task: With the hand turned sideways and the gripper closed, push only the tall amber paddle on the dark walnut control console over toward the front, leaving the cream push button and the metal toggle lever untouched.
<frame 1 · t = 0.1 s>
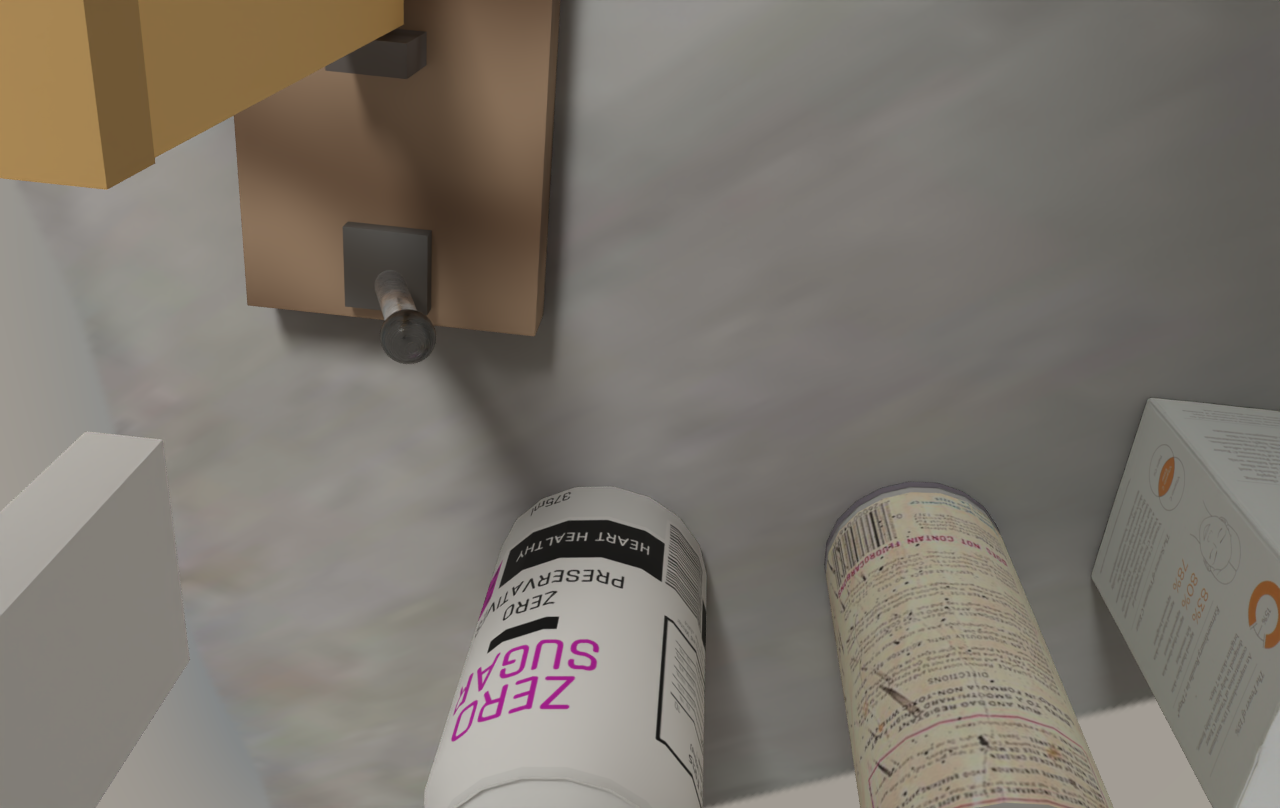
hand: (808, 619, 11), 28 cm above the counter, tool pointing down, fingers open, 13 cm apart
small box: (1198, 494, 42), on the counter
toggle lever: (403, 323, 33), point 7 cm above the counter, hinge at -22.0°
supplement can: (604, 562, 45), on the counter
aerosol can: (911, 554, 44), on the counter
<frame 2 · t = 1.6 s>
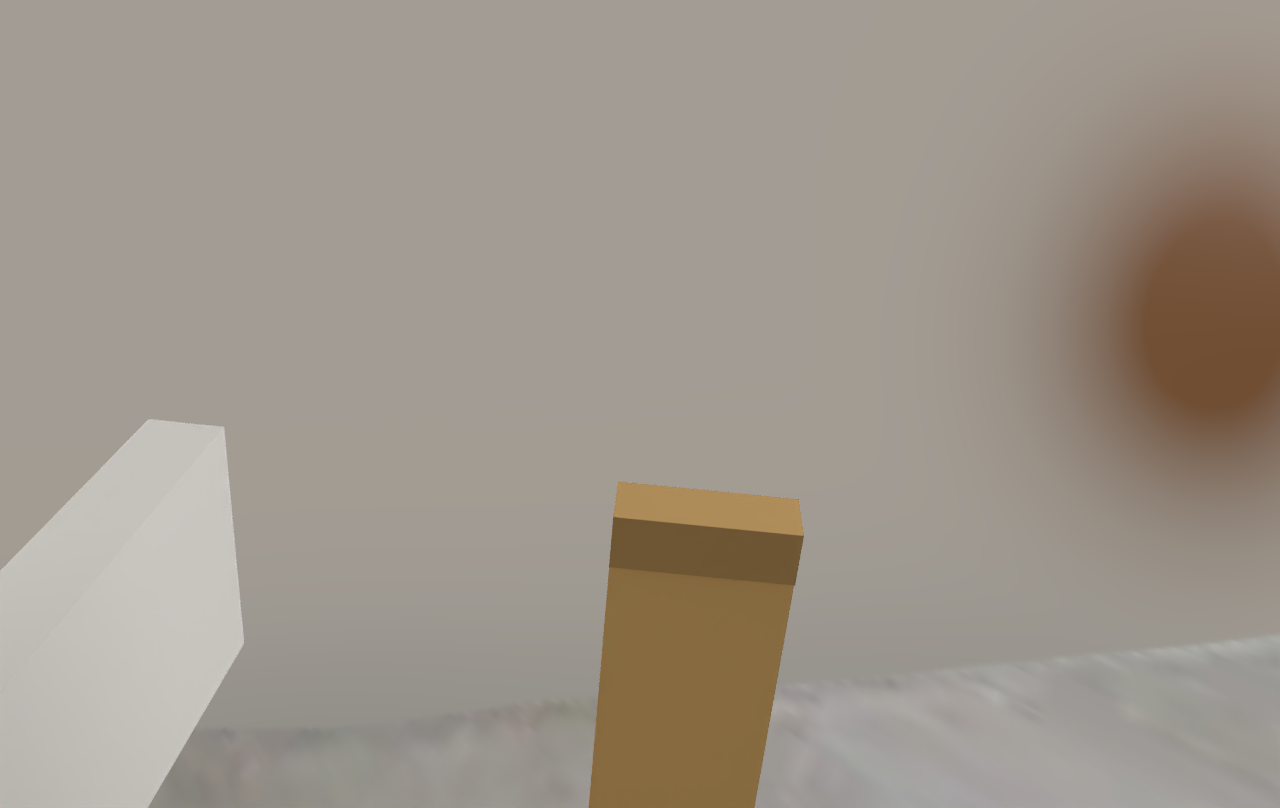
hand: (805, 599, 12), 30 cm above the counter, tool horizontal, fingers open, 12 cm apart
paddle: (675, 759, 34), point 12 cm above the counter, hinge at 0.0°
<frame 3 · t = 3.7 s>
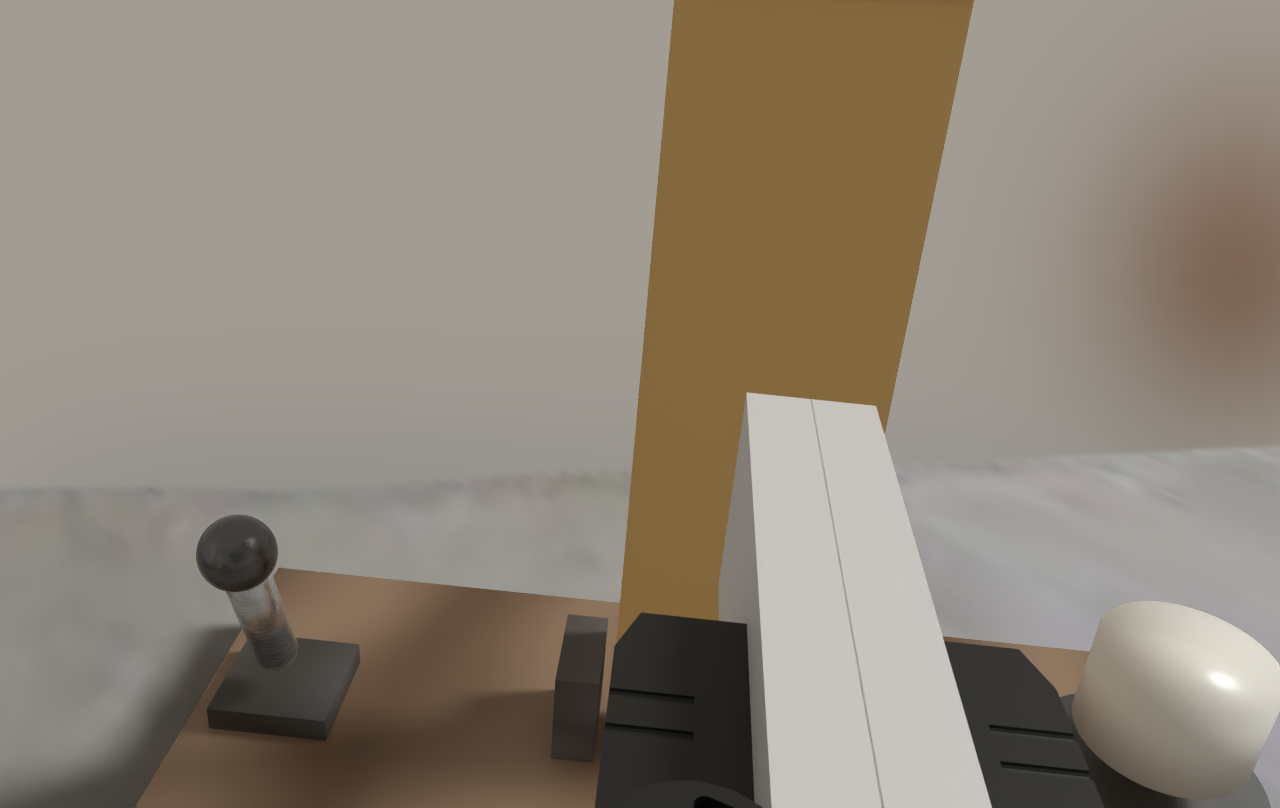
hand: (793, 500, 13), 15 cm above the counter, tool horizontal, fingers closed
console: (702, 797, 28), on the counter
push button: (1174, 695, 26), point 5 cm above the counter, slide at 0.0 cm
toggle lever: (247, 579, 24), point 7 cm above the counter, hinge at -22.0°
paddle: (765, 367, 23), point 12 cm above the counter, hinge at 0.0°
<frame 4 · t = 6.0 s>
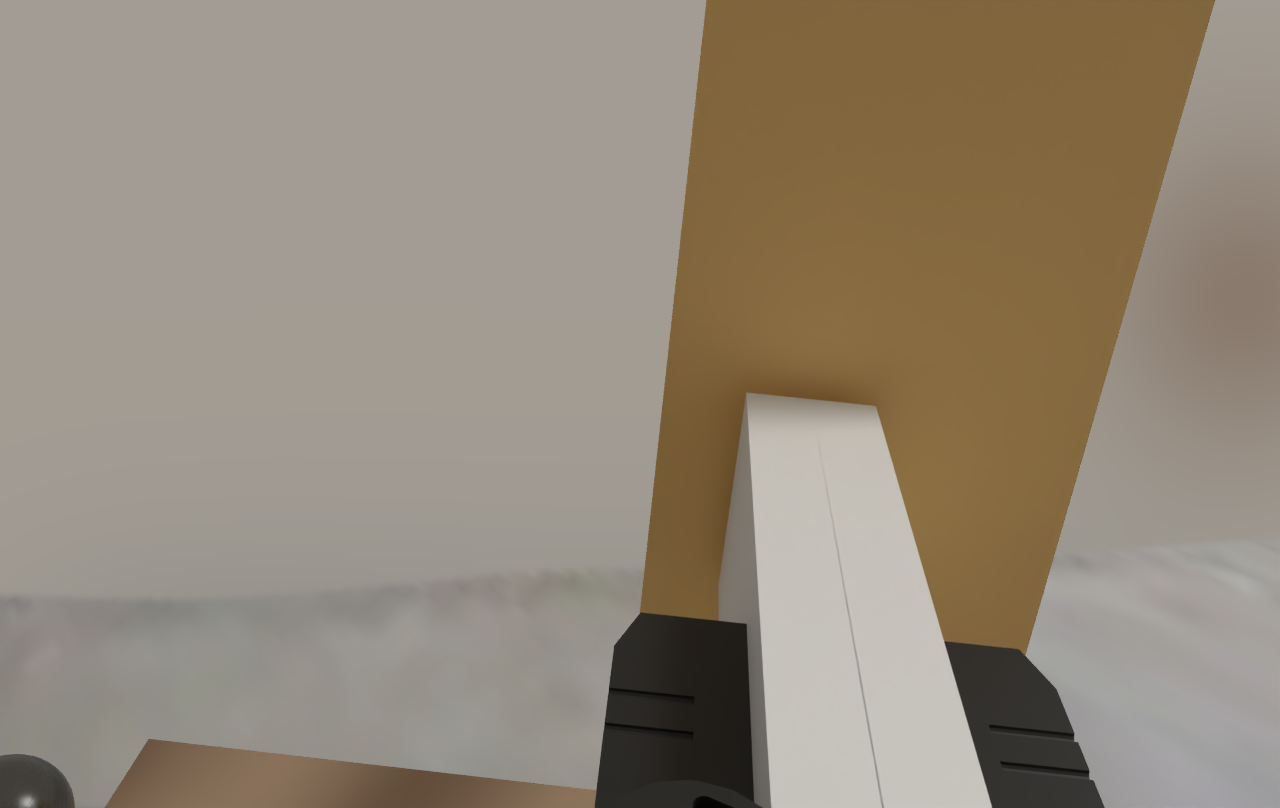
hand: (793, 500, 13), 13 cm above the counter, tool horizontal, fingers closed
paddle: (842, 520, 15), point 12 cm above the counter, hinge at 2.2°, touching gripper
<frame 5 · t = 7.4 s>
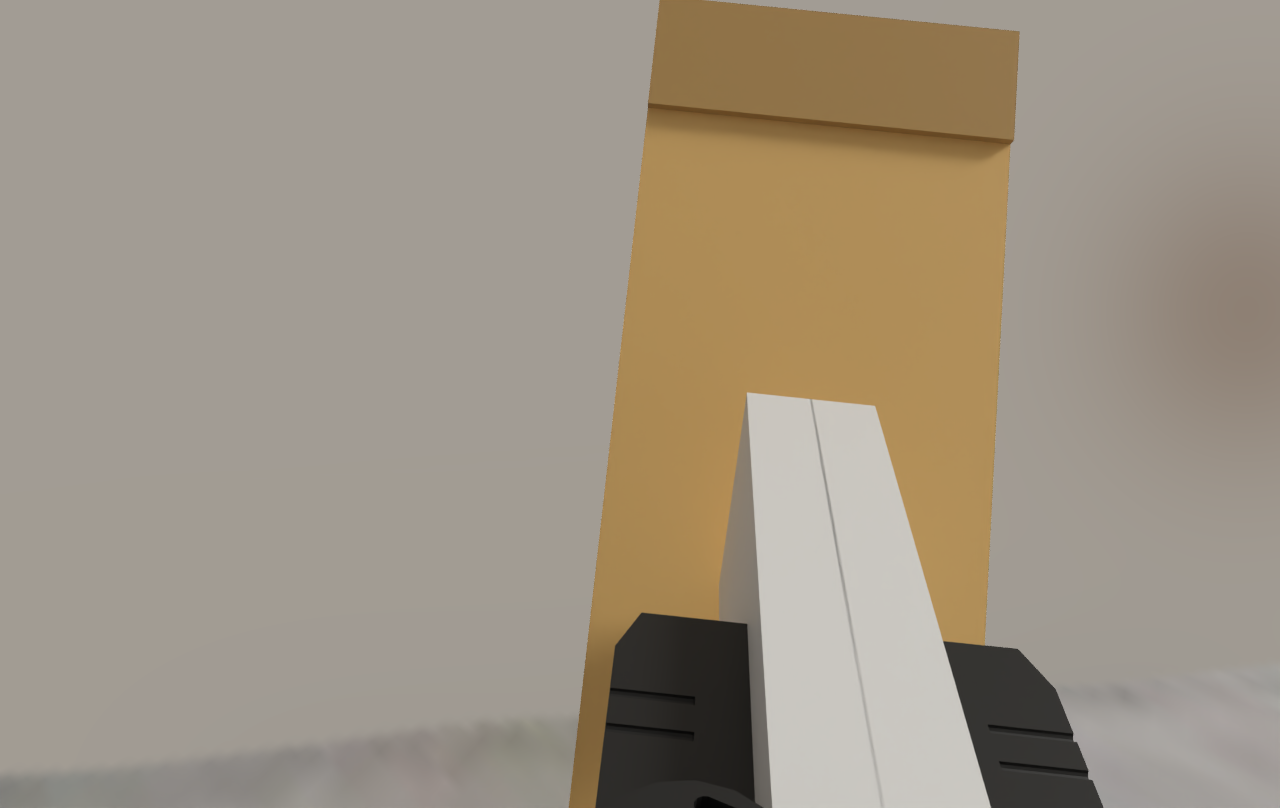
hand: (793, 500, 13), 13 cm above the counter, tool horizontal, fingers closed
paddle: (775, 679, 15), point 10 cm above the counter, hinge at 37.1°, touching gripper
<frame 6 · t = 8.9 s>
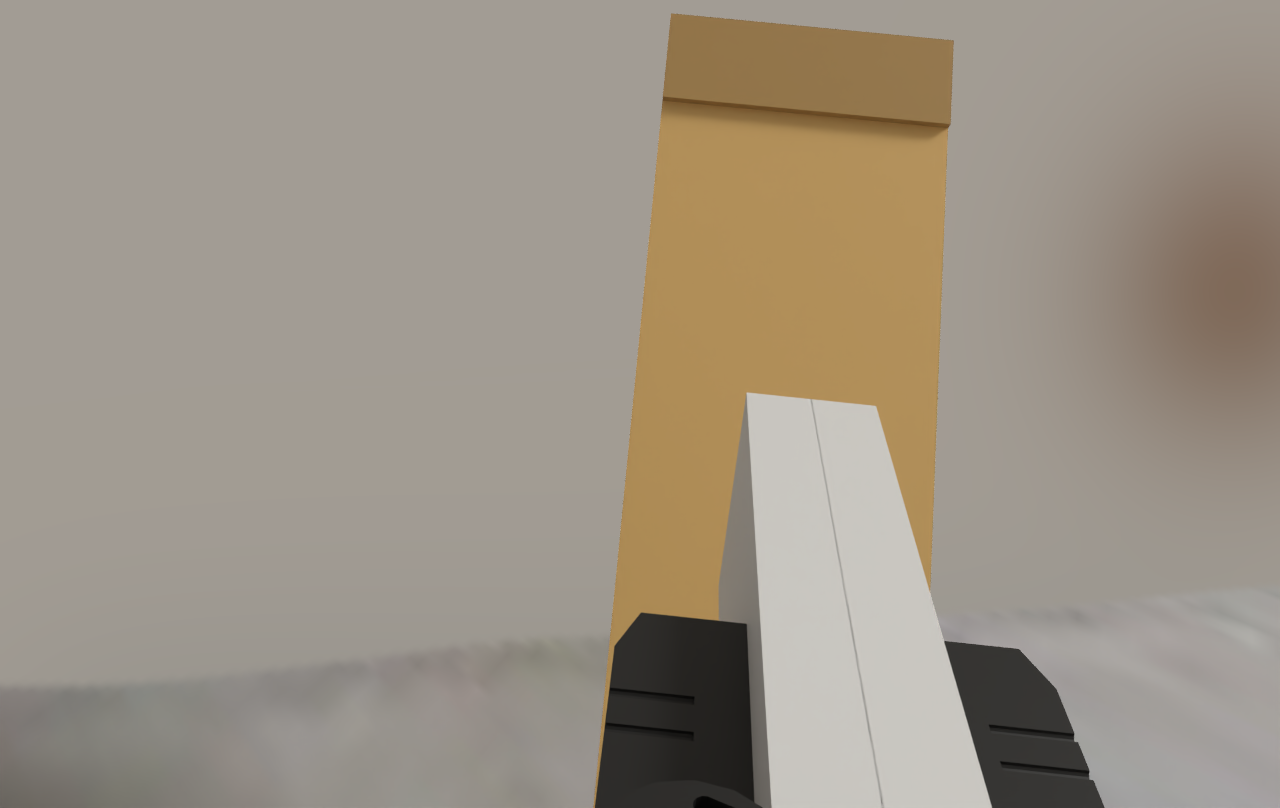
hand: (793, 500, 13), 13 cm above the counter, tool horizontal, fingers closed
paddle: (769, 547, 19), point 10 cm above the counter, hinge at 39.2°
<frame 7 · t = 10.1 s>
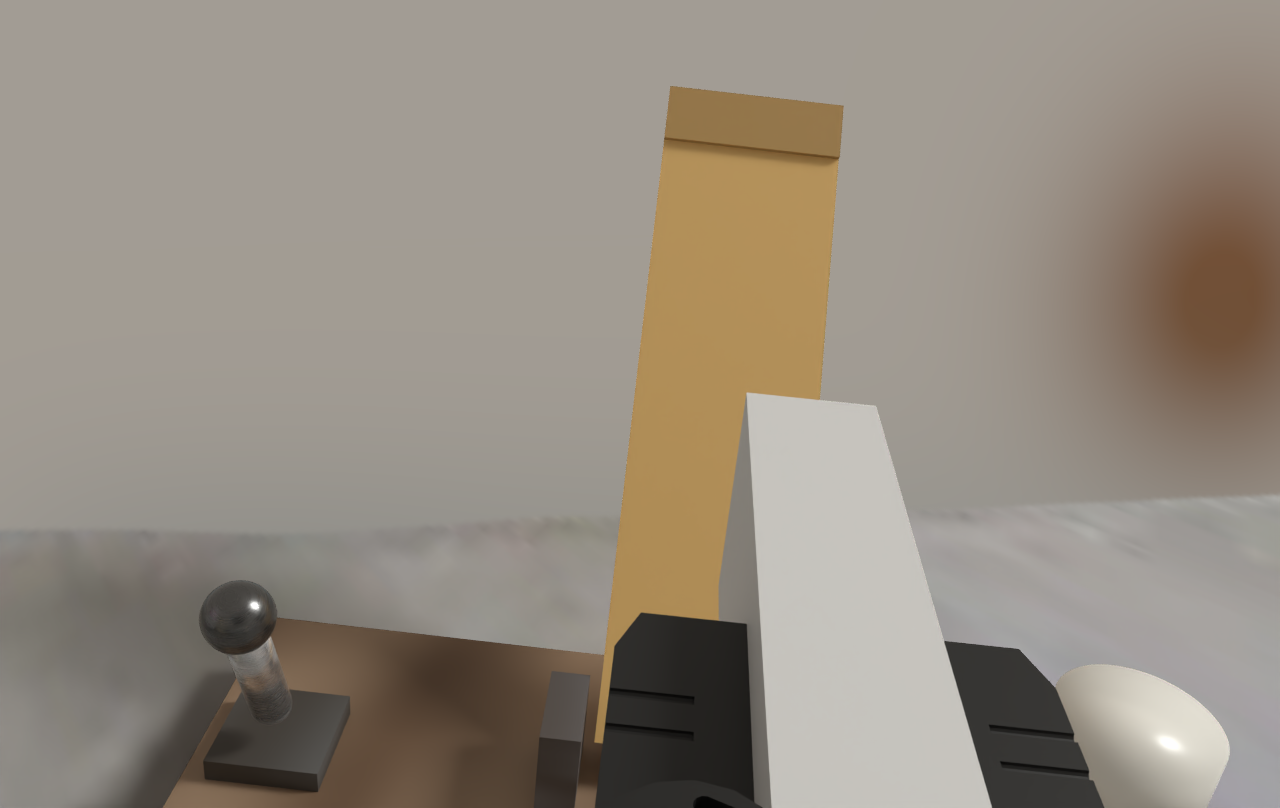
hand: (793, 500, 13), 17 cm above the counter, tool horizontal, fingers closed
push button: (1125, 756, 27), point 5 cm above the counter, slide at 0.0 cm
toggle lever: (247, 640, 25), point 7 cm above the counter, hinge at -22.0°
paddle: (724, 410, 31), point 10 cm above the counter, hinge at 39.2°
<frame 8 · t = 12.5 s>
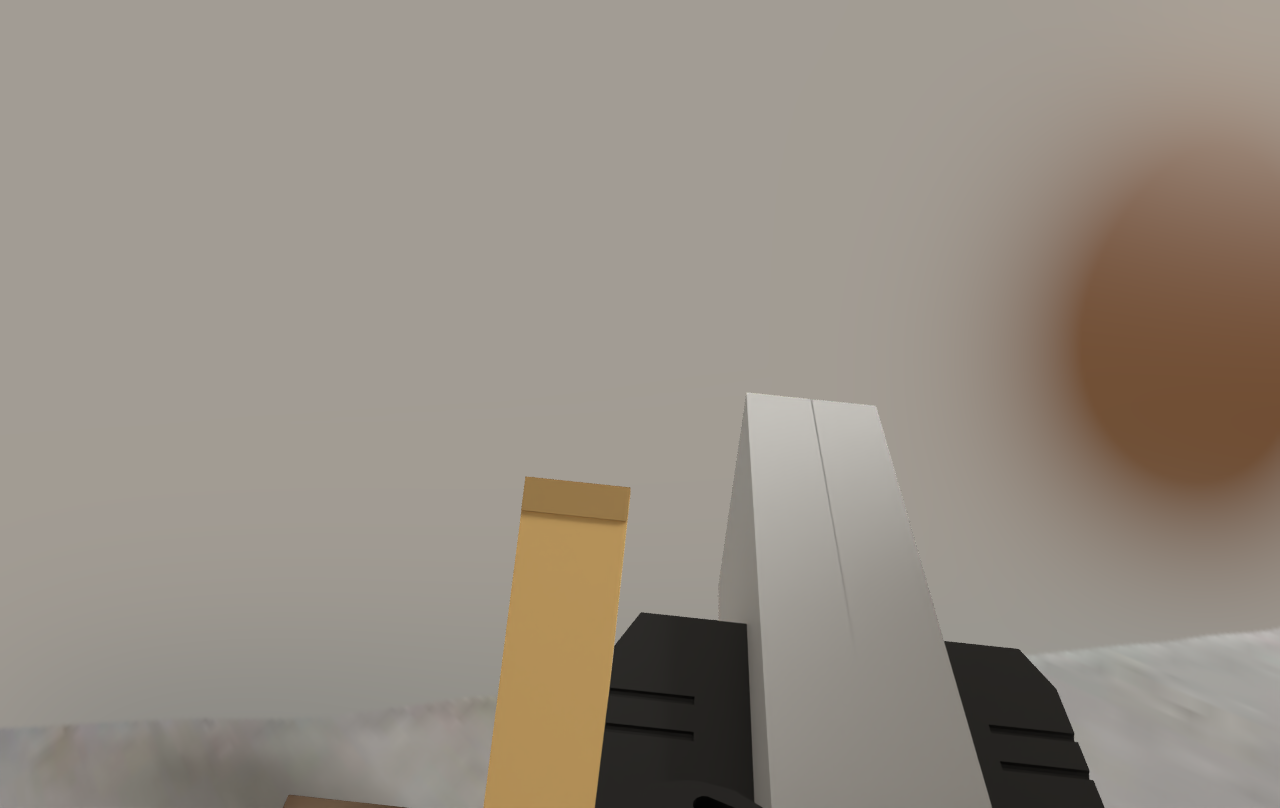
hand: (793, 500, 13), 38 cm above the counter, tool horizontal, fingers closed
paddle: (556, 678, 52), point 10 cm above the counter, hinge at 39.2°
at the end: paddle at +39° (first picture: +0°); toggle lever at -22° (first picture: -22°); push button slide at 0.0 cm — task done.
